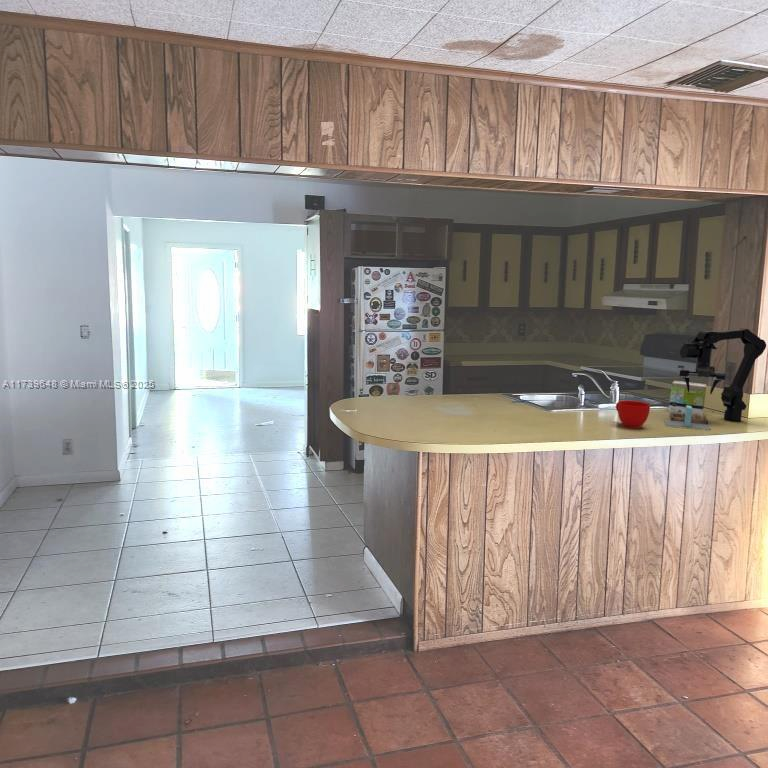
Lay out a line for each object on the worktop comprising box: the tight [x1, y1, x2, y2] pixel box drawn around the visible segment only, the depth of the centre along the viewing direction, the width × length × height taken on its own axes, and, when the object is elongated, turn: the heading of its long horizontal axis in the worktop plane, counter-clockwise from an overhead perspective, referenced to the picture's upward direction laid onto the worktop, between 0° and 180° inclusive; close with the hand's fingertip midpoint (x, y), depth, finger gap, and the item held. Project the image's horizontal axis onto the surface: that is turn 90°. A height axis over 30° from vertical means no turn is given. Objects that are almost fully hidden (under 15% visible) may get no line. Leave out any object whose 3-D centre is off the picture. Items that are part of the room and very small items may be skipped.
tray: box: [669, 412, 709, 425], centre depth 304 cm, size 15×12×2 cm
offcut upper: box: [694, 413, 705, 419], centre depth 303 cm, size 4×6×2 cm, turn 160°
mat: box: [663, 420, 712, 432], centre depth 293 cm, size 18×10×1 cm, turn 70°
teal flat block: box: [684, 405, 693, 427], centre depth 292 cm, size 2×7×8 cm, turn 160°
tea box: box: [668, 380, 708, 415], centre depth 323 cm, size 15×10×15 cm
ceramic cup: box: [615, 400, 651, 429], centre depth 290 cm, size 13×17×10 cm
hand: (699, 393), depth 303 cm, fingers open, 9 cm apart
